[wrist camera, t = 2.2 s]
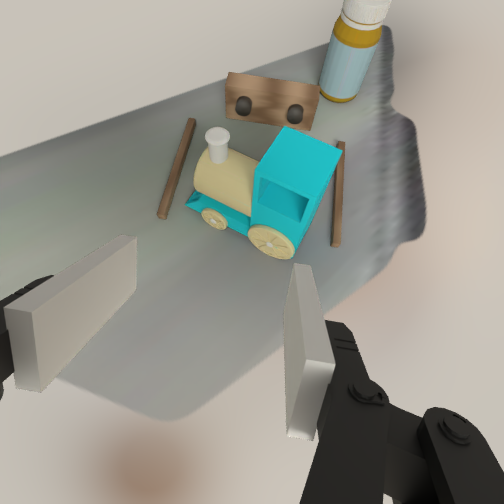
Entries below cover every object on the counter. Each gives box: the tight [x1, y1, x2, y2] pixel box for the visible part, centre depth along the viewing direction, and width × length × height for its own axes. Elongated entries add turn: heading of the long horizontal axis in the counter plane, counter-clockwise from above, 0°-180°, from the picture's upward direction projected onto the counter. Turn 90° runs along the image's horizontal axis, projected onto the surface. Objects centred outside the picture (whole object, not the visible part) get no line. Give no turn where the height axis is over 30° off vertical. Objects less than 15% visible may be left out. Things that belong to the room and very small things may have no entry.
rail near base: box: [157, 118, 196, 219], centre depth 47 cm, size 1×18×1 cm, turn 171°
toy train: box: [185, 126, 343, 259], centre depth 38 cm, size 8×17×15 cm, turn 62°
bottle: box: [319, 0, 392, 103], centre depth 49 cm, size 7×7×15 cm
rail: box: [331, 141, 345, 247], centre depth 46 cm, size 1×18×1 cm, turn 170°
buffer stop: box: [225, 72, 320, 131], centre depth 49 cm, size 14×5×6 cm, turn 81°
